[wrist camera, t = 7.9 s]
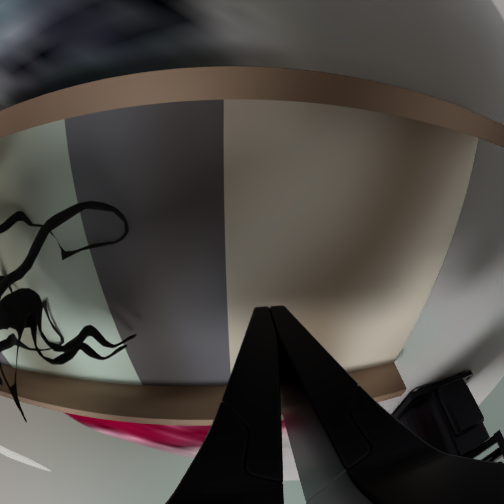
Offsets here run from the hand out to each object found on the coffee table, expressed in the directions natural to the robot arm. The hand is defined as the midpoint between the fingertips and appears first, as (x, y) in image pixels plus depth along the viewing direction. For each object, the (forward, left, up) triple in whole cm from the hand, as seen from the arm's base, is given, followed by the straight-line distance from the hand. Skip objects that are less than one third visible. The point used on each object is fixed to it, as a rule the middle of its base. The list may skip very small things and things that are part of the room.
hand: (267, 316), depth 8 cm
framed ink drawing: (0, +5, -1) cm, 5 cm away
